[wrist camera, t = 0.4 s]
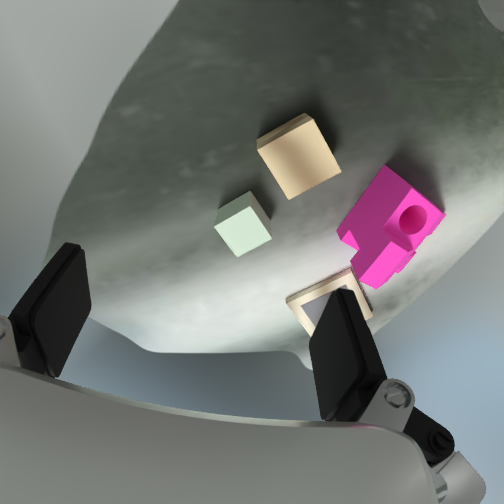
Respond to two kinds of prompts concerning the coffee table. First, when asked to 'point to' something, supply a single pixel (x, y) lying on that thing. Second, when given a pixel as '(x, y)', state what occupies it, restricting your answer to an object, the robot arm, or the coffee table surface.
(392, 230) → the bracket
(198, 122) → the coffee table surface
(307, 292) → the birch board
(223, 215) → the sage cube
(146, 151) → the coffee table surface
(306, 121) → the oak block
